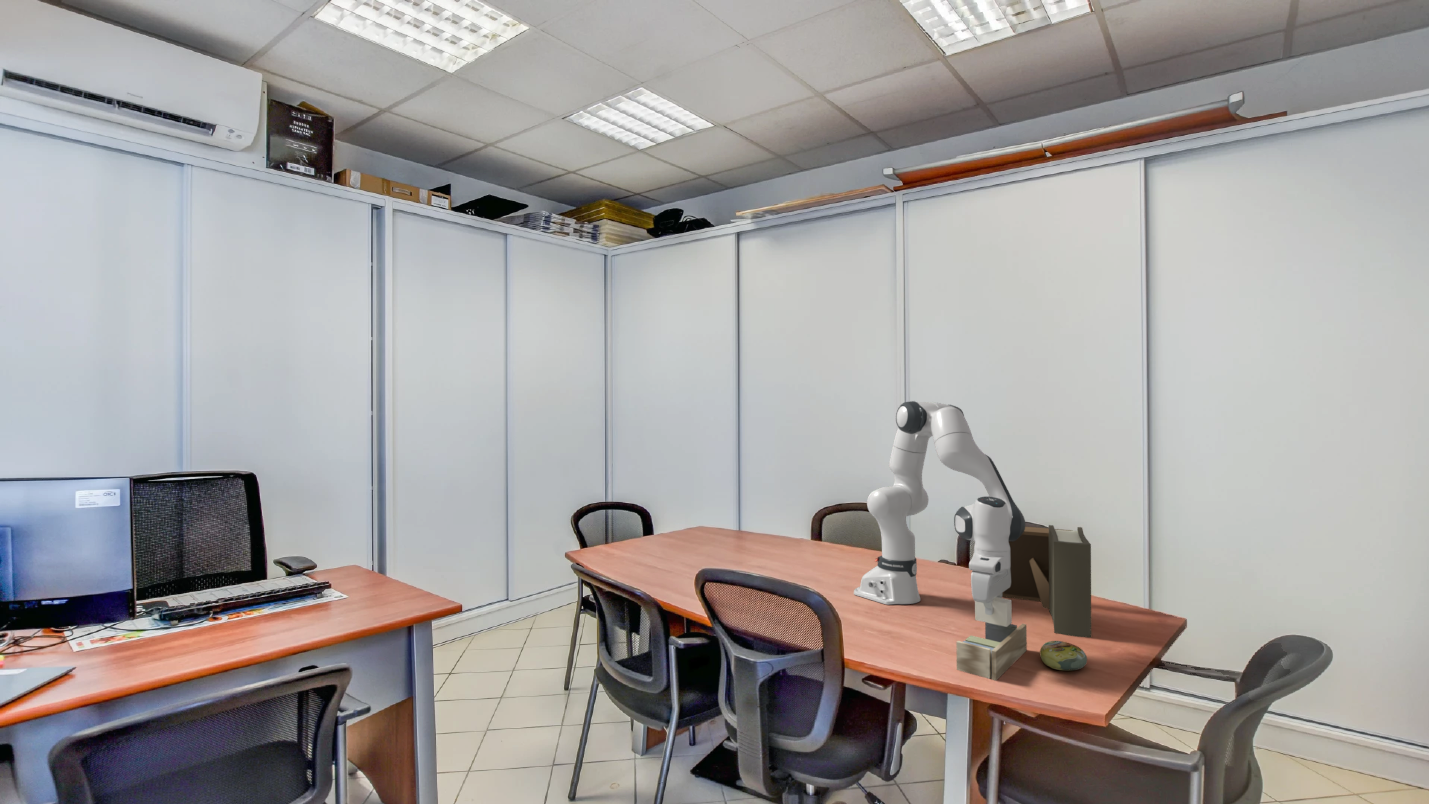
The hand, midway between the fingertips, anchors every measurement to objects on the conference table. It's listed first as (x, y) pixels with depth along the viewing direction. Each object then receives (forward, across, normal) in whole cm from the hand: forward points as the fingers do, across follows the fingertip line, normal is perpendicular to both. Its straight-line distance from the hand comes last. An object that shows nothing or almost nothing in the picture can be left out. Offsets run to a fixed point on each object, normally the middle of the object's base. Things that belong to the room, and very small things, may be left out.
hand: (993, 611), depth 165 cm
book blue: (+12, +12, 0) cm, 17 cm away
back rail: (+12, +2, 0) cm, 12 cm away
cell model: (+12, -6, +15) cm, 20 cm away
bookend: (+12, -10, 0) cm, 15 cm away
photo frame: (+12, -55, -4) cm, 56 cm away
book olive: (+12, +6, 0) cm, 14 cm away
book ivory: (+3, 0, 0) cm, 3 cm away
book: (+12, -40, +9) cm, 43 cm away
